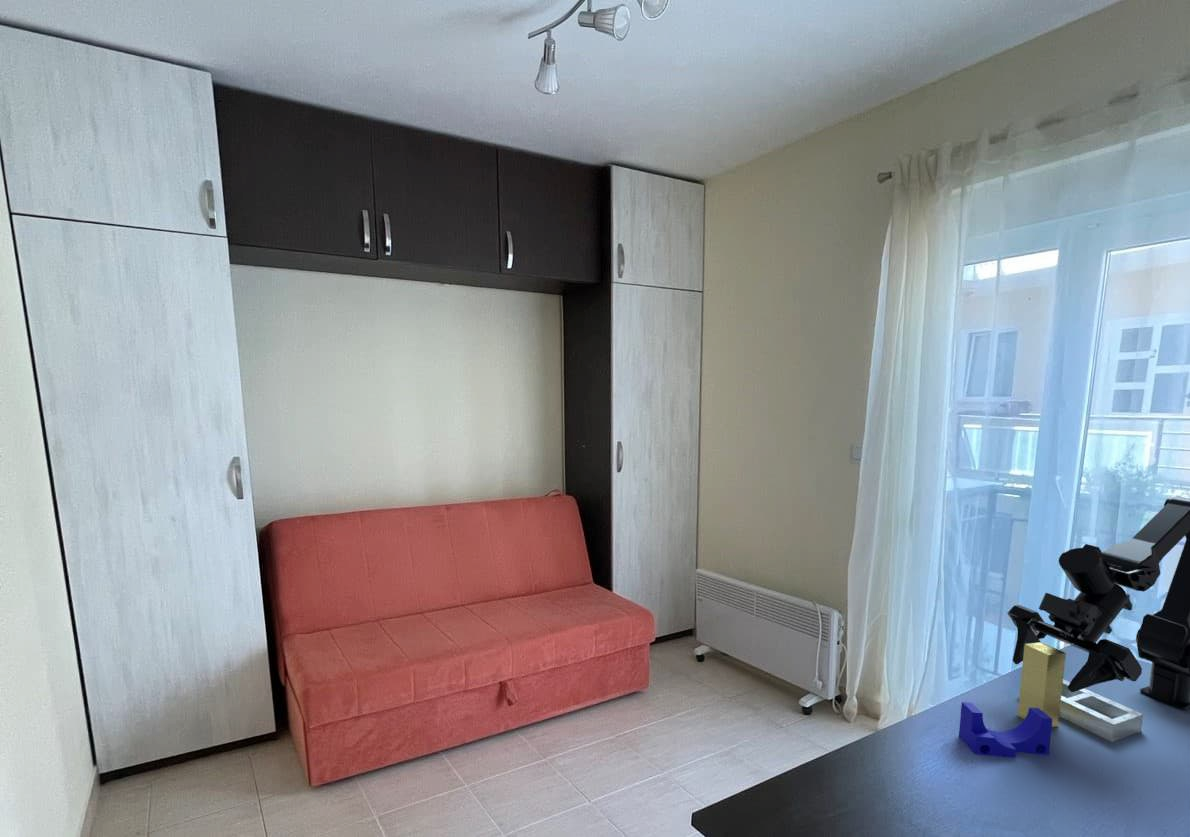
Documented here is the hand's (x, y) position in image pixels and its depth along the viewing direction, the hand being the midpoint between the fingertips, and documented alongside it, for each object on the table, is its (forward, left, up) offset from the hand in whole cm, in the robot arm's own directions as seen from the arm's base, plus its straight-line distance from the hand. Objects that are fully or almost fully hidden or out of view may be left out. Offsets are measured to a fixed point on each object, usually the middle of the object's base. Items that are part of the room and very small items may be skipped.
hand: (1040, 675), depth 97 cm
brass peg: (0, 0, -8) cm, 8 cm away
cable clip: (+13, +3, -8) cm, 16 cm away
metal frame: (-10, +1, -8) cm, 13 cm away
